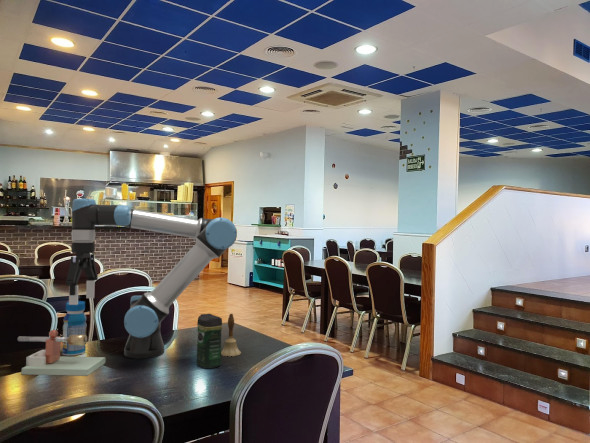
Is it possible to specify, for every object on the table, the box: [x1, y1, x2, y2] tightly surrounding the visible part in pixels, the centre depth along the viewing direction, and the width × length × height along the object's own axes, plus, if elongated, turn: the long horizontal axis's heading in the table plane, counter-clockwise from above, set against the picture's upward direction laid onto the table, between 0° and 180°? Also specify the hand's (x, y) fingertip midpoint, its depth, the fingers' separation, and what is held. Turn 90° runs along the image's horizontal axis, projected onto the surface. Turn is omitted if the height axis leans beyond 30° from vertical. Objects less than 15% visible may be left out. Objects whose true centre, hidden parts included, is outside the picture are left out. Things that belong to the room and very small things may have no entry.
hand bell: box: [221, 313, 242, 357], centre depth 174 cm, size 8×8×16 cm
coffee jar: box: [195, 313, 223, 369], centre depth 159 cm, size 10×8×19 cm
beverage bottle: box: [61, 300, 88, 357], centre depth 170 cm, size 8×8×20 cm
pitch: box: [20, 349, 106, 377], centre depth 151 cm, size 22×14×5 cm, turn 91°
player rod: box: [17, 329, 88, 363], centre depth 152 cm, size 23×5×11 cm, turn 91°
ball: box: [37, 349, 46, 357], centre depth 151 cm, size 4×4×4 cm
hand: (82, 301), depth 154 cm, fingers open, 13 cm apart
